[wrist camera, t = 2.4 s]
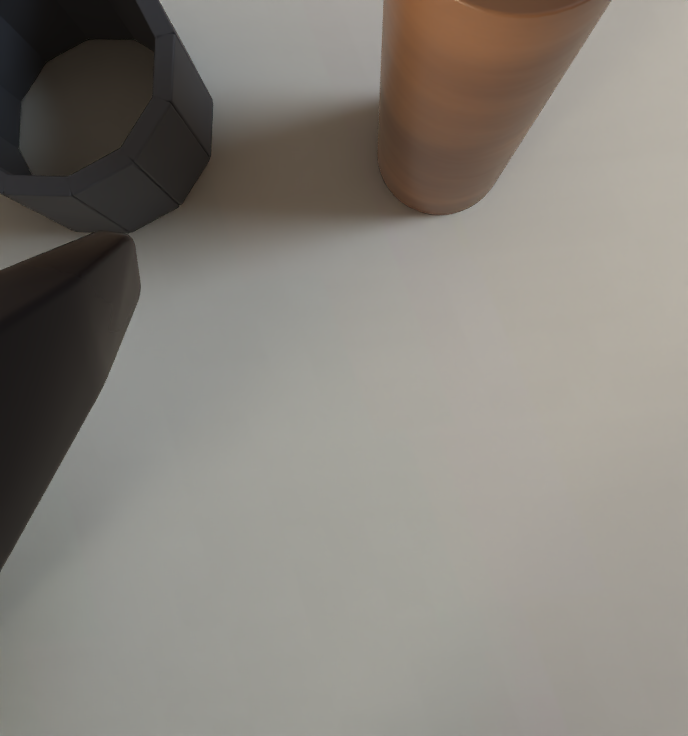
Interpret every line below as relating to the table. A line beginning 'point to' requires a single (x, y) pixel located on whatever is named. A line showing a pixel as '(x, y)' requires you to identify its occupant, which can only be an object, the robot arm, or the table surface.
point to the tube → (147, 138)
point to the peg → (467, 89)
